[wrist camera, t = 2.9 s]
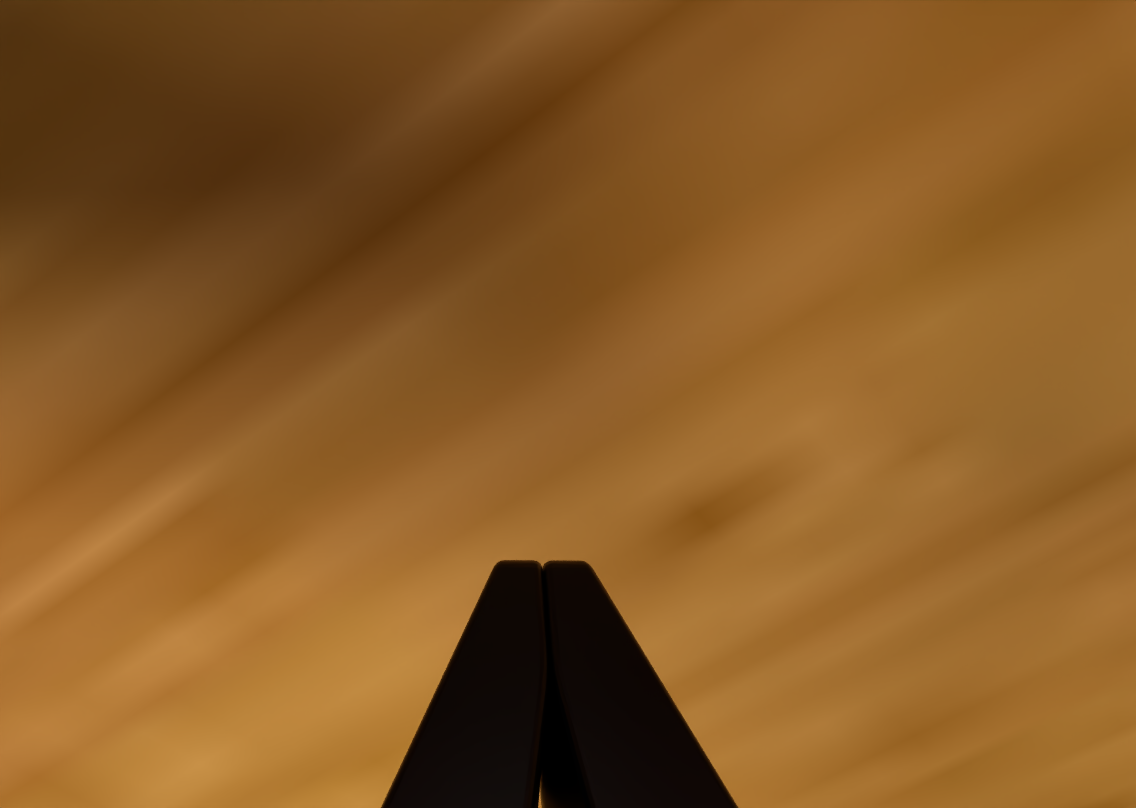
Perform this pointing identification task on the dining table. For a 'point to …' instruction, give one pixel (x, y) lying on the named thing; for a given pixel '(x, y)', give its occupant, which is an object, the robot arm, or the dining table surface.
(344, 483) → the dining table surface
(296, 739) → the dining table surface
